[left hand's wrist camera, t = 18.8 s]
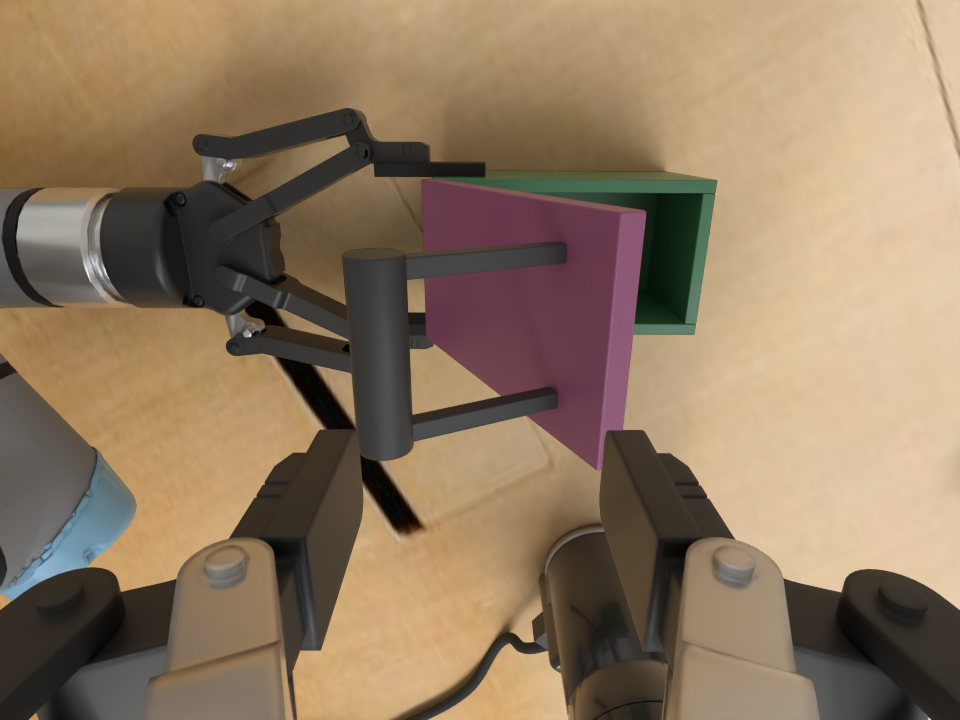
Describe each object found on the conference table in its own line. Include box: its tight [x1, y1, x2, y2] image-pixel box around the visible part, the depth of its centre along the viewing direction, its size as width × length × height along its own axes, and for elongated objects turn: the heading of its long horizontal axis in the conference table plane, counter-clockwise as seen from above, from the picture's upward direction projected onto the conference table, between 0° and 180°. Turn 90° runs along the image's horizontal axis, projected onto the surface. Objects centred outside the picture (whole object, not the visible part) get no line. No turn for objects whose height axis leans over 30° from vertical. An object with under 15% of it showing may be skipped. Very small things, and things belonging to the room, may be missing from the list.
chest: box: [431, 170, 717, 335], centre depth 38 cm, size 16×9×9 cm, turn 90°
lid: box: [342, 179, 646, 470], centre depth 24 cm, size 17×9×9 cm
